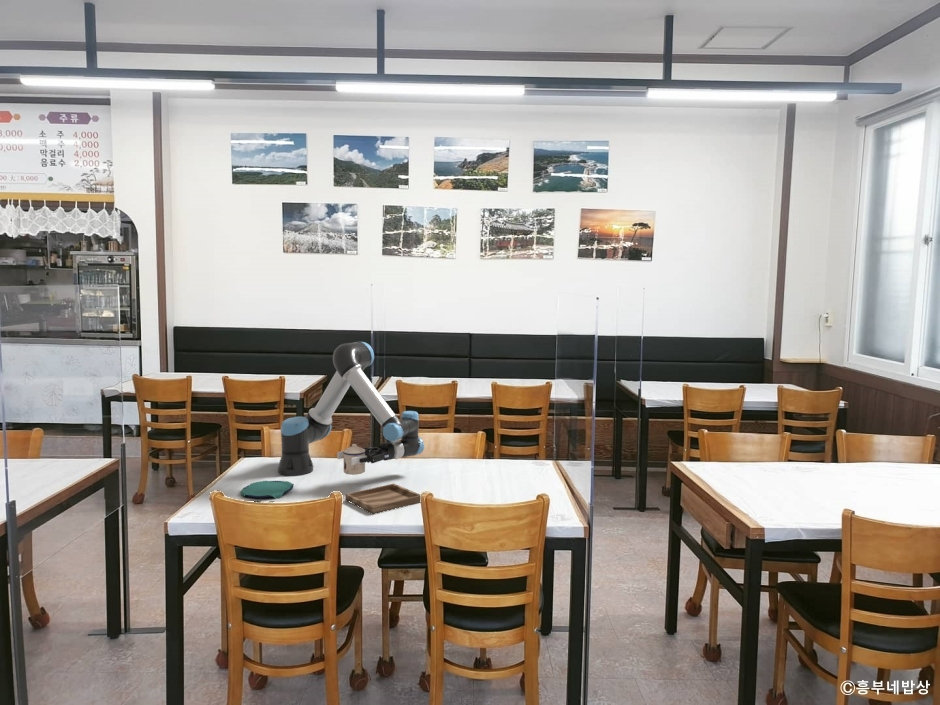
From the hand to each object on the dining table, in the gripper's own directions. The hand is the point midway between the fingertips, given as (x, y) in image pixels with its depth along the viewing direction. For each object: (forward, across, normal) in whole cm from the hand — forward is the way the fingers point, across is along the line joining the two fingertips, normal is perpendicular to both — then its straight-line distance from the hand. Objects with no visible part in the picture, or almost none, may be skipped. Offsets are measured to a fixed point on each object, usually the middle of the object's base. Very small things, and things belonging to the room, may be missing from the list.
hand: (344, 458), depth 258 cm
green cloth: (+29, +13, -14) cm, 35 cm away
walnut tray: (-4, -23, -12) cm, 26 cm away
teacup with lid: (-4, 0, -7) cm, 8 cm away
